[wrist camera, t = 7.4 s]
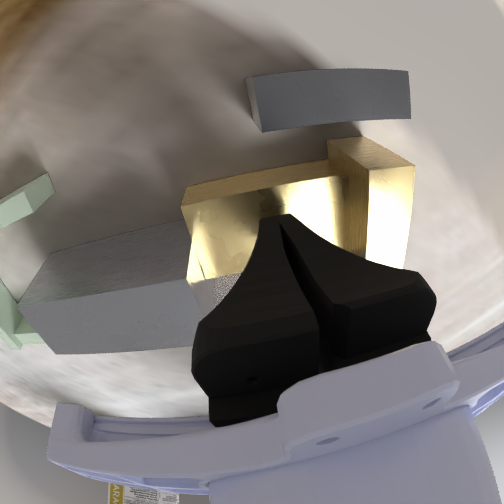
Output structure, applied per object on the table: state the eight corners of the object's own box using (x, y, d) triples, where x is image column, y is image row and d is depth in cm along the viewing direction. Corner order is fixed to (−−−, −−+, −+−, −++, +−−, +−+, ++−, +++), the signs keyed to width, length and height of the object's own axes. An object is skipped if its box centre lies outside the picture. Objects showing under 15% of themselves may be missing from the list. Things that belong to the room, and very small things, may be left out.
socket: (369, 277, 18) (389, 311, 15) (283, 297, 18) (293, 336, 15) (370, 68, 10) (408, 71, 8) (244, 78, 10) (251, 77, 8)
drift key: (363, 236, 16) (398, 286, 12) (212, 267, 16) (211, 328, 12) (363, 136, 12) (415, 165, 9) (180, 168, 12) (162, 210, 9)
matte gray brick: (214, 274, 16) (214, 342, 12) (79, 297, 17) (56, 354, 13) (196, 215, 14) (186, 278, 10) (51, 251, 14) (16, 306, 10)
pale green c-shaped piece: (120, 311, 17) (110, 346, 15) (23, 323, 18) (11, 349, 15) (47, 172, 11) (17, 196, 9) (-40, 226, 12) (-61, 249, 9)
